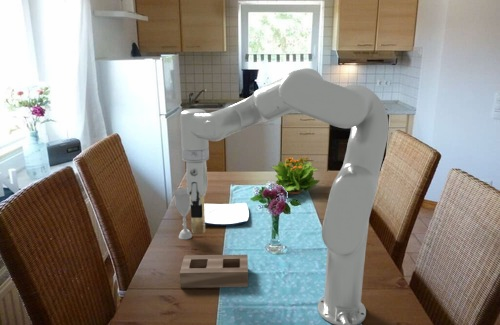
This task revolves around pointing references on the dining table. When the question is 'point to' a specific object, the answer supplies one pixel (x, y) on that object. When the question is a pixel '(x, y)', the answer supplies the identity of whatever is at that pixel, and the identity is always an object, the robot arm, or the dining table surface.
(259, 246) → the dining table surface
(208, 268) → the hole block
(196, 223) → the pin
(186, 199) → the chalice
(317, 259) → the dining table surface
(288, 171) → the potted flower
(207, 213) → the plate
